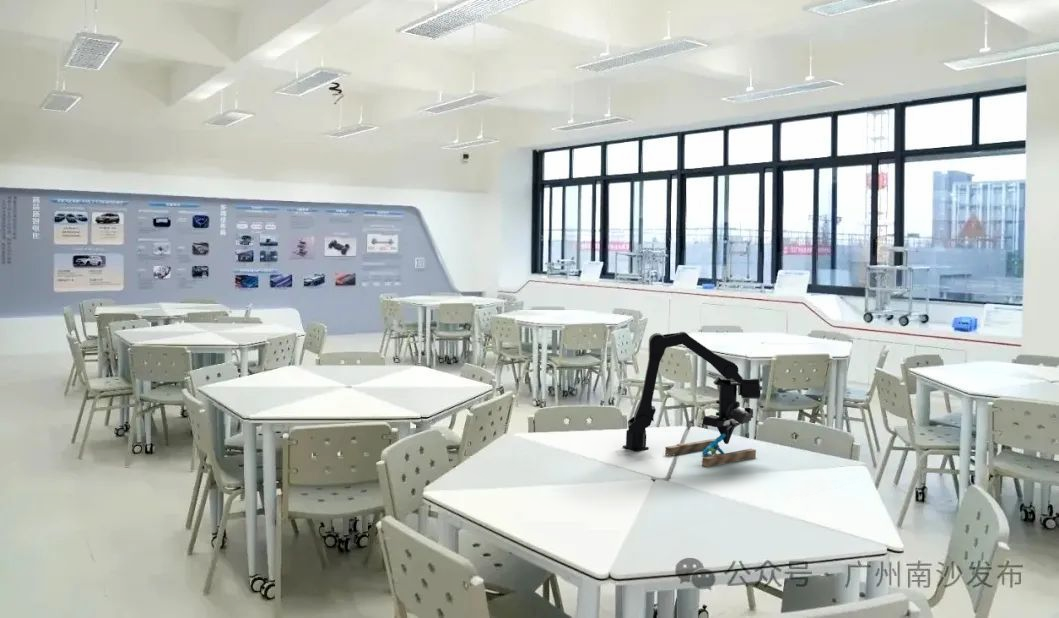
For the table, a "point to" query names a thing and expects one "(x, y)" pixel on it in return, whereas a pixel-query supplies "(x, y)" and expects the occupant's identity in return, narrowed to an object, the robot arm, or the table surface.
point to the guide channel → (711, 459)
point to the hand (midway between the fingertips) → (726, 443)
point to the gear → (714, 446)
